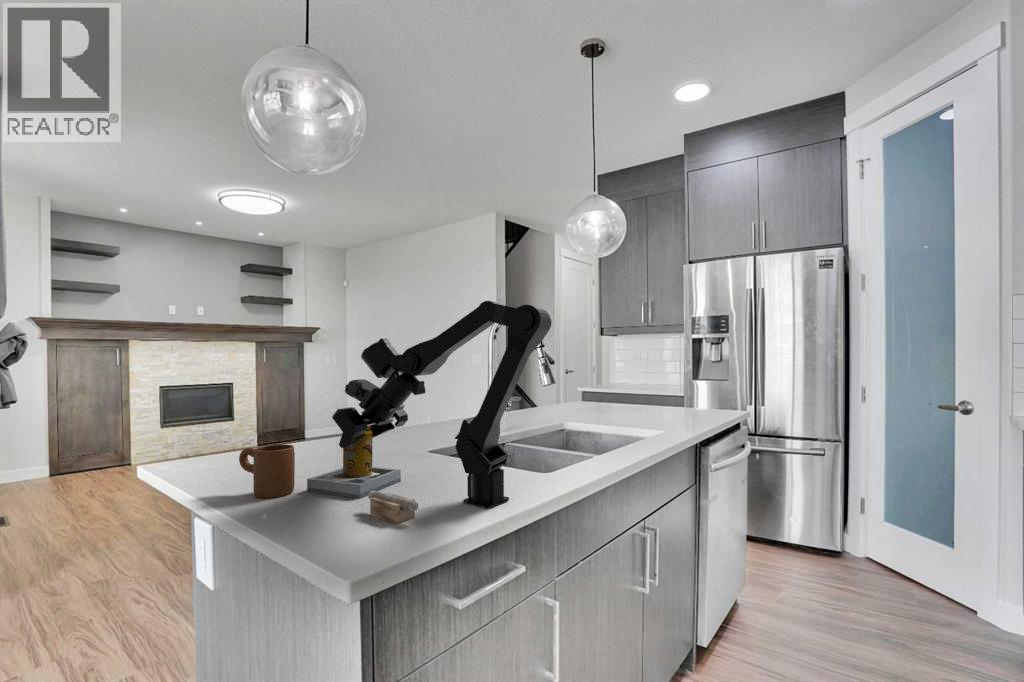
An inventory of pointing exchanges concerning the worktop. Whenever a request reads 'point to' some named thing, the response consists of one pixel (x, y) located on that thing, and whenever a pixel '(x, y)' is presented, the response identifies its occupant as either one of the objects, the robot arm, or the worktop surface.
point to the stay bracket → (391, 507)
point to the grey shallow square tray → (354, 483)
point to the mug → (270, 469)
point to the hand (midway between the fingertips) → (350, 443)
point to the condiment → (357, 459)
